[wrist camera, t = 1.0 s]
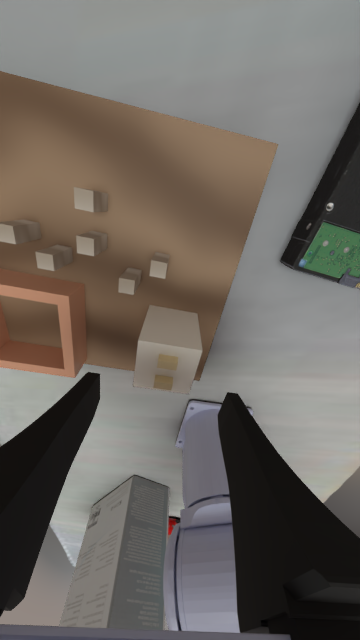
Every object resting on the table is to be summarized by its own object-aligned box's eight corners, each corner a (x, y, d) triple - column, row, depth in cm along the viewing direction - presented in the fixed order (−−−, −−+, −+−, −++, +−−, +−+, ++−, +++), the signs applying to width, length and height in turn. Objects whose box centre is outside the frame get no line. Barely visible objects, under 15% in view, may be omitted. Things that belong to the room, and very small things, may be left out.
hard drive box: (126, 514, 42) (87, 737, 24) (92, 504, 39) (21, 742, 22) (171, 486, 35) (162, 758, 18) (134, 473, 33) (81, 767, 16)
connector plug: (187, 350, 19) (189, 401, 14) (144, 344, 19) (131, 393, 14) (197, 313, 17) (203, 356, 12) (149, 304, 17) (136, 346, 12)
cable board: (198, 370, 22) (201, 401, 19) (3, 340, 20) (-34, 368, 17) (268, 150, 13) (300, 130, 9) (-75, 61, 11) (-191, -4, 8)
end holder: (87, 358, 19) (75, 377, 17) (3, 345, 19) (-21, 364, 17) (84, 283, 16) (68, 296, 14) (-21, 264, 15) (-55, 274, 13)
